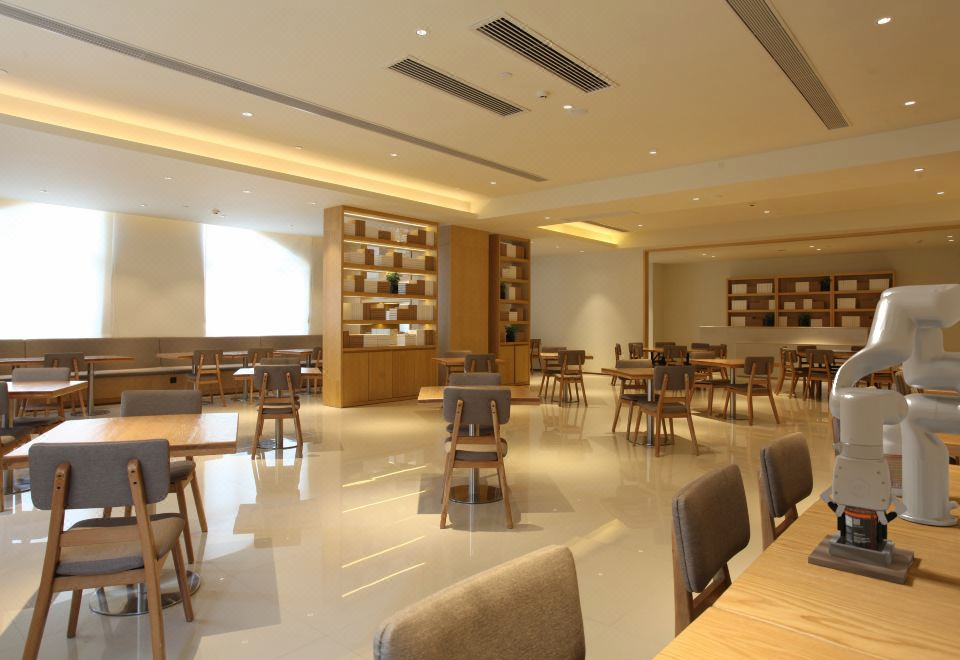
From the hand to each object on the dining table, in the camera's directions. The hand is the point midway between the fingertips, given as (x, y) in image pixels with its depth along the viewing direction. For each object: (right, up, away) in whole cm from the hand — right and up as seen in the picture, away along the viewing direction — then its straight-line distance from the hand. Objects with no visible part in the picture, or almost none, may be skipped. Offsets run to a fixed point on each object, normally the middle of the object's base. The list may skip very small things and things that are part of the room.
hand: (861, 537), depth 123 cm
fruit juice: (+41, -5, +51) cm, 66 cm away
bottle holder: (0, -5, 0) cm, 5 cm away
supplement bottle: (0, -3, 0) cm, 3 cm away
